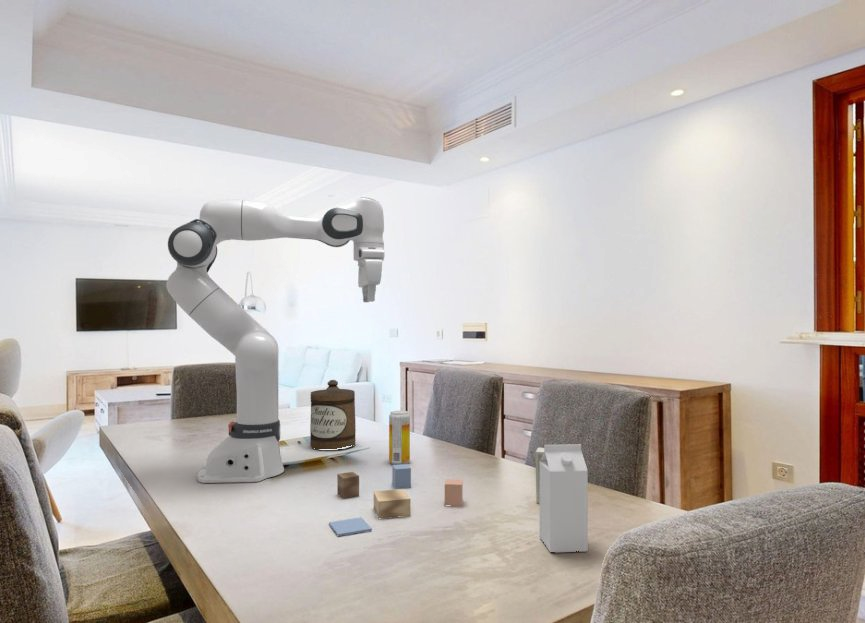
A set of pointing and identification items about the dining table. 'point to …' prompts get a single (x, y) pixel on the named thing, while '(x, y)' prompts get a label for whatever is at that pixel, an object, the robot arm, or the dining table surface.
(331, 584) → the dining table surface
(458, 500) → the terracotta cube
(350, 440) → the wooden container
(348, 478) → the walnut cube
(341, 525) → the tile
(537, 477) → the skincare box
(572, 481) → the milk carton
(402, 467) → the blue cube
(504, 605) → the dining table surface
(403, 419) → the beer can
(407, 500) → the oak base
